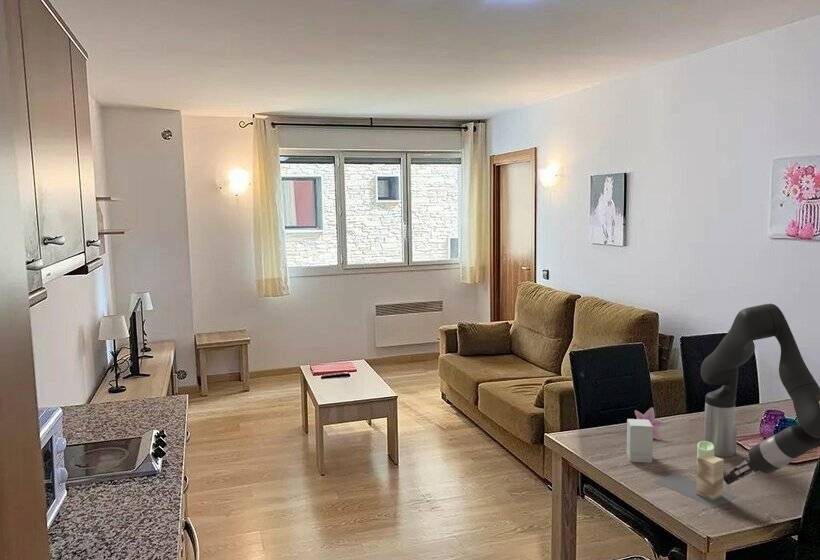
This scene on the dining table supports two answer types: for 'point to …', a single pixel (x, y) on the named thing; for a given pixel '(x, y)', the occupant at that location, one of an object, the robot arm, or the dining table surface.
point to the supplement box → (639, 440)
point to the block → (710, 477)
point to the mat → (690, 489)
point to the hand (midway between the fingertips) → (726, 480)
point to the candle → (705, 448)
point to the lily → (650, 416)
